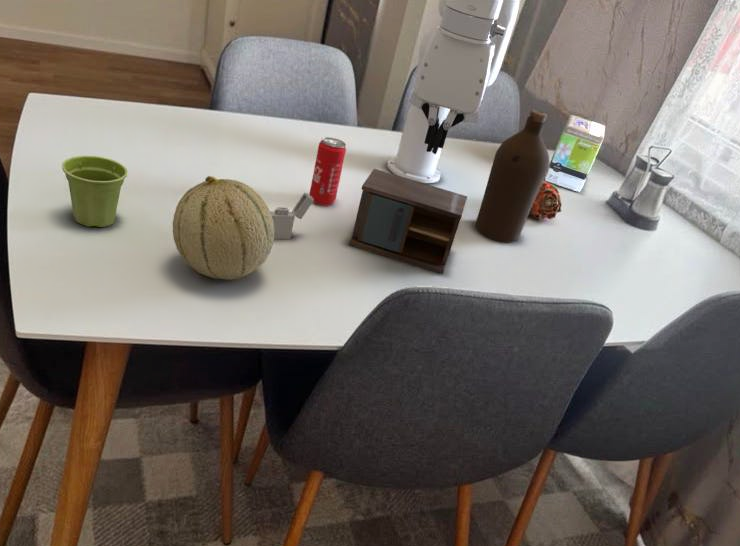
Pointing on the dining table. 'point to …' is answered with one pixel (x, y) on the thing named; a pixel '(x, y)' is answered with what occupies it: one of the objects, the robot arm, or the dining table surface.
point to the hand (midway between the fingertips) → (432, 150)
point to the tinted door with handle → (385, 222)
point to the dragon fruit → (546, 202)
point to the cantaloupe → (223, 228)
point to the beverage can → (327, 171)
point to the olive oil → (514, 182)
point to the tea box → (575, 153)
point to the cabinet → (416, 219)
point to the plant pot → (94, 188)
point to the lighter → (289, 217)
